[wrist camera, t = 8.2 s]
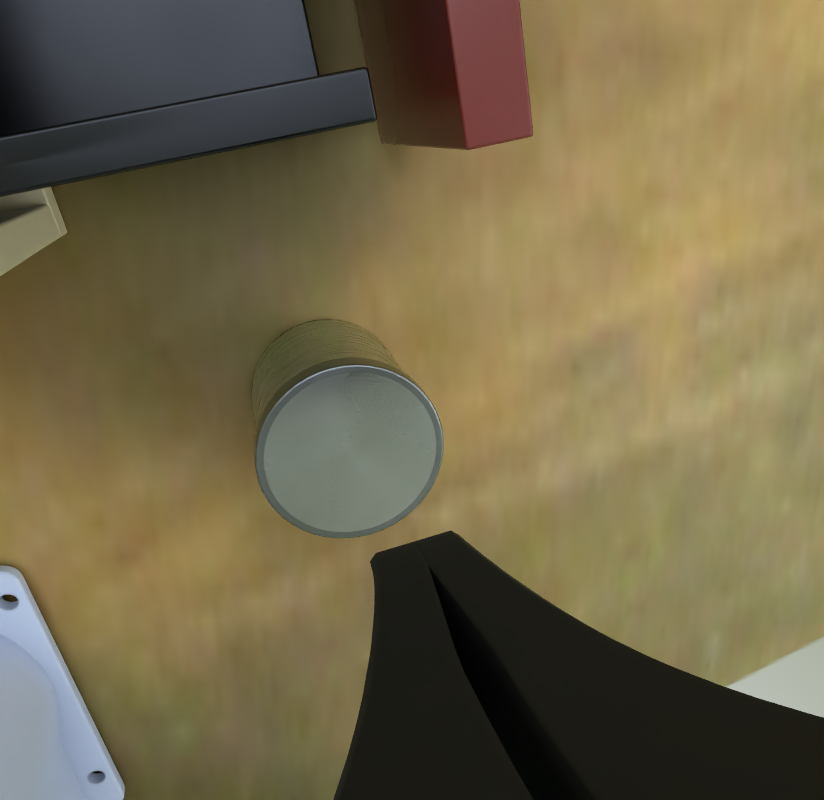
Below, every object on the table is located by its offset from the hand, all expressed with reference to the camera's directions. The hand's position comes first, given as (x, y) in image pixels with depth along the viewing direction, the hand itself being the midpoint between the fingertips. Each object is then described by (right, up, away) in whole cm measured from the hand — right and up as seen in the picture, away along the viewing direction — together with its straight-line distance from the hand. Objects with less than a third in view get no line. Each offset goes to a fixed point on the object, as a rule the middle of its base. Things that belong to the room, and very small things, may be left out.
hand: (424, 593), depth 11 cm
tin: (-3, +3, +9) cm, 10 cm away
